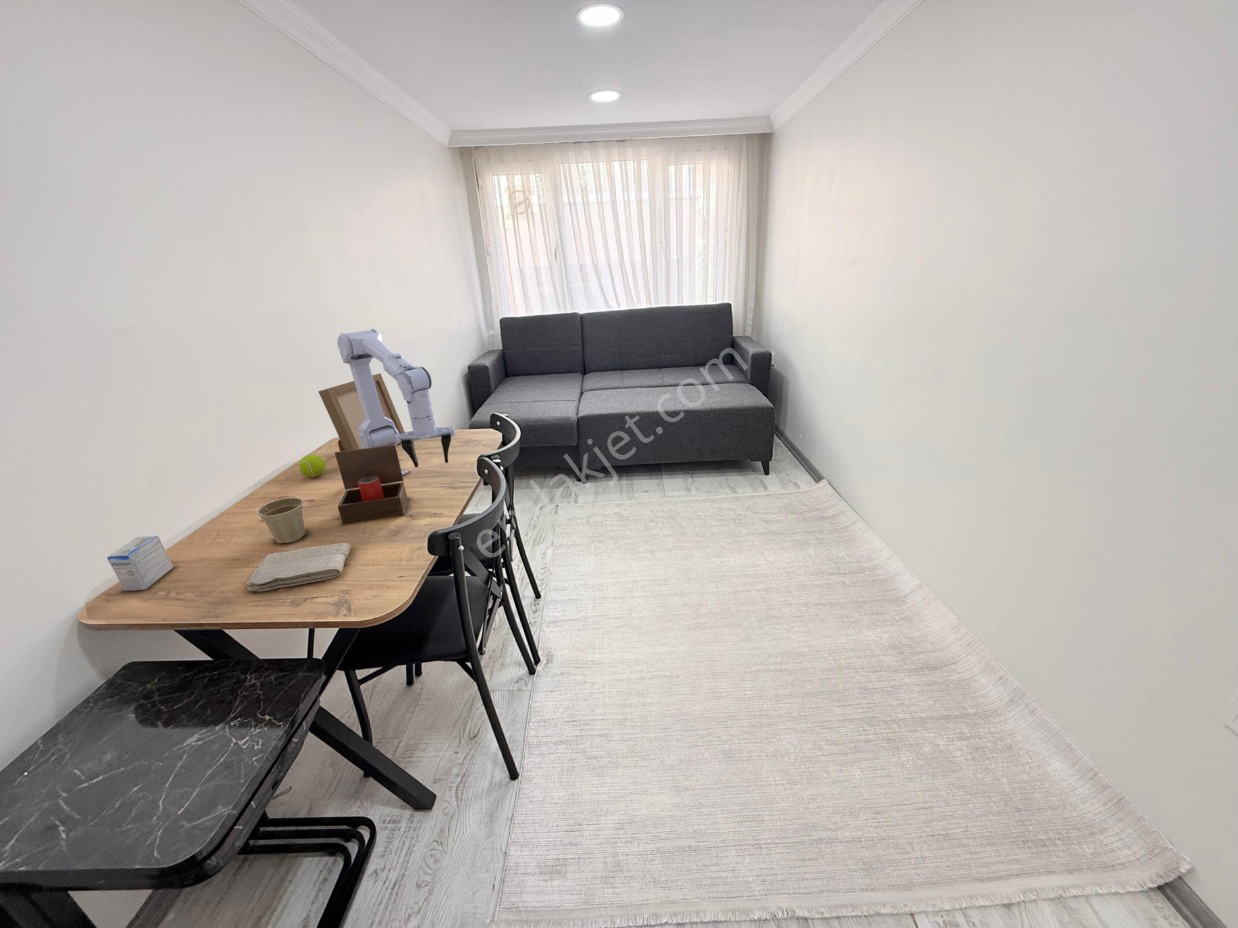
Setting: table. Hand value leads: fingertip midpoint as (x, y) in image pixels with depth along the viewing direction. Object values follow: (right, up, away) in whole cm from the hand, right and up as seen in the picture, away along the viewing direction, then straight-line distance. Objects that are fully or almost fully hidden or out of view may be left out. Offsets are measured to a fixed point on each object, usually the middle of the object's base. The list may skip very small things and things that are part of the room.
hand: (431, 463), depth 133 cm
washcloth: (-18, -24, -25) cm, 39 cm away
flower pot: (-30, -18, -12) cm, 37 cm away
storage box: (-14, -13, -1) cm, 19 cm away
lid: (-16, -1, -2) cm, 16 cm away
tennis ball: (-45, -4, +22) cm, 50 cm away
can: (-14, -12, -2) cm, 19 cm away
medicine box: (-51, -25, -26) cm, 63 cm away
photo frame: (-38, +5, +41) cm, 56 cm away
